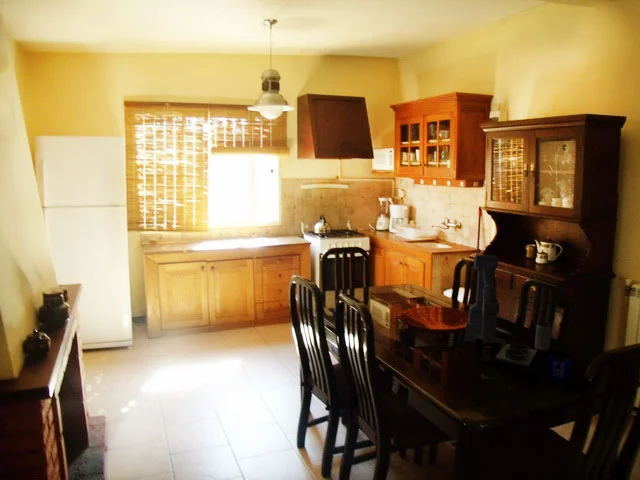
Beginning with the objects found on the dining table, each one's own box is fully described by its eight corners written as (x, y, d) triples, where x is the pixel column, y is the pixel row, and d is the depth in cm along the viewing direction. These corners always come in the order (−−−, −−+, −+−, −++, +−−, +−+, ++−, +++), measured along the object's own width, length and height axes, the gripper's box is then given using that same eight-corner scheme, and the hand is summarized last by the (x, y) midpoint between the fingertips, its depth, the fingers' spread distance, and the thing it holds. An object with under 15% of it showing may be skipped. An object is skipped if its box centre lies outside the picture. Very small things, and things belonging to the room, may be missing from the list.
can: (550, 351, 247) (553, 327, 245) (535, 350, 248) (538, 325, 246) (547, 346, 253) (550, 322, 251) (533, 345, 255) (535, 321, 252)
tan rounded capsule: (479, 361, 234) (480, 348, 233) (482, 358, 238) (483, 345, 237) (489, 363, 232) (491, 350, 231) (492, 360, 236) (493, 347, 235)
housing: (495, 359, 237) (496, 352, 236) (506, 345, 253) (506, 339, 253) (528, 366, 230) (529, 360, 229) (537, 352, 246) (537, 346, 246)
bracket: (568, 384, 214) (570, 362, 212) (546, 379, 217) (548, 359, 216) (568, 367, 230) (570, 347, 229) (547, 364, 233) (549, 344, 232)
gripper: (469, 327, 233) (467, 356, 235) (503, 334, 225) (501, 364, 228) (474, 323, 239) (472, 351, 241) (507, 329, 231) (505, 359, 233)
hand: (486, 357), depth 235 cm, fingers closed on tan rounded capsule, 4 cm apart
